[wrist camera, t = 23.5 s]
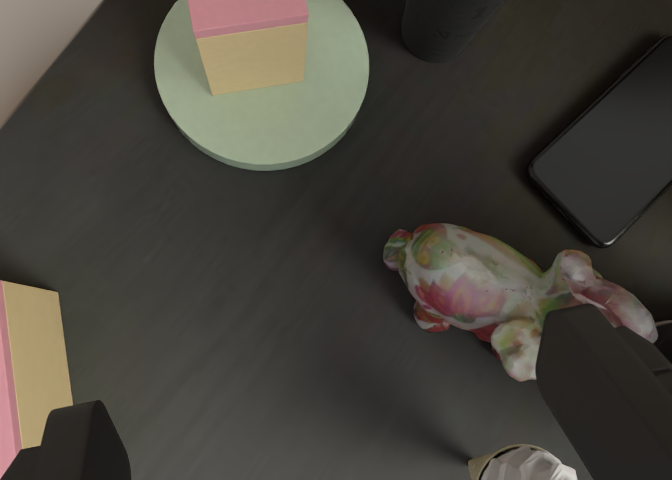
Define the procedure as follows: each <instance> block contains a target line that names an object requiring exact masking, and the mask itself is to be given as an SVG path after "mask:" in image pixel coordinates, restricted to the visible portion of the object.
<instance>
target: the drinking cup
mask: <svg viewBox="0 0 672 480" xmlns="http://www.w3.org/2000/svg"><path fill="white" fill-rule="evenodd" d="M504 1H505V0H406V4H405V9H404V14H403V19H402V24H401V33H402V37H403V40H404V42H405V44H406V46H407V47H408V49H409V50H410V51H411V52H412V53H413V54H414V55H416V56H417V57H419V58H420V59H422V60H425V61H428V62H434V63H440V62H446V61H449V60H451V59H453V58H455V57H456V56H458V55H459V54H460V53H461V52H462V51H463V49H464V48H465V47H466V46H467V45H468V44H469V42H470V41H471V40H472V39H473V38H474V36H475V35H476V34H477V33H478V32H479V31H480V29H481V28H482V27H483V26H484V25H485V24H486V22H487V21H488V20H489V19H490V18H491V16H492V15H493V14H494V13H495V12H496V11H497V9H498V8H499V7H500V6H501V5H502V4H503V2H504Z"/></svg>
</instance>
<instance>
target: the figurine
mask: <svg viewBox="0 0 672 480" xmlns="http://www.w3.org/2000/svg"><path fill="white" fill-rule="evenodd" d="M383 260H384V262H385V264H386V266H387V267H388V268H389V269H390V270H393V271H398V270H399V274H400V275H401V277H402V279H403V281H404V282H405V284H406V286H407V288H408V290H409V291H410V293H411V294H412V296H413V297H414V298H415V299H416V302H415V304H414V318H415V320H416V322H417V324H418V325H419V326H420V327H421V328H422V329H424V330H426V331H428V332H439V331H444V330H447V329H448V328H449V326H450V325H453V326H455V327H458V328H460V329H464V330H467V331H470V332H474V333H475V334H476V335H477V337H478V338H479V339H480V340H483V341H486V342H491V344H492V351H493V353H494V355H495V357H496V358H497V359H498V360H500V361H502V365H503V367H504V369H505V370H506V372H507V373H508V375H509V376H511V377H513V378H514V379H516V380H518V381H520V382H521V381H526V380H530V379H534V380H536V373H535V366H536V360H537V355H538V350H539V345H540V340H541V335H542V330H543V325H544V320H545V316H546V314H547V313H548V312H549V311H551V310H556V309H561V308H566V307H571V306H576V305H581V304H586V303H589V304H592V305H594V306H596V307H597V308H598V309H599V310H600V311H601V313H602V314H603V315H604V316H605V317H606V318H607V320H608V321H609V322H610V323H611V324H612V326H613V327H614V328H615V327H620V326H626V327H628V328H629V329H631V330H632V331H634V332H636V333H637V334H639V335H640V336H642V337H643V338H645V339H647V340H648V341H650V342H651V343H654V342H655V341H656V340H657V337H658V333H657V329H656V326H655V323H654V320H653V317H652V315H651V313H650V312H649V311H648V310H647V309H646V308H645V307H644V306H643V304H642V303H641V302H640V301H639V300H638V299H637V298H636V297H635V296H634V295H633V294H632V293H630V292H629V291H627V290H625V289H624V288H622V287H621V286H619V285H617V284H614V283H612V282H610V281H607V280H605V279H603V278H602V276H601V275H600V274H599V273H598V272H597V271H595V270H594V269H593V268H592V263H591V260H590V258H589V256H588V255H587V254H585V253H583V252H581V251H578V250H572V249H570V250H563V251H562V252H560V253H559V254H558V255H557V256H556V258H555V260H554V263H553V265H552V266H551V267H550V268H549V269H548V270H547V271H546V272H545V273H544V272H543V271H542V270H541V268H540V267H539V266H538V265H537V264H536V263H535V262H534V261H532V260H531V259H529V258H527V257H525V256H523V255H522V254H520V253H519V252H518V251H516V250H515V249H513V248H512V247H510V246H509V245H507V244H505V243H504V242H502V241H500V240H498V239H497V238H494V237H491V236H488V235H485V234H482V233H478V232H474V231H472V230H470V229H468V228H466V227H462V226H457V225H452V224H447V223H429V224H425V225H421V226H419V227H418V228H417V229H416V230H415V231H414V233H409V232H407V231H405V230H402V229H400V230H397V231H396V232H395V233H394V234H392V235H391V237H390V239H389V240H388V242H387V243H386V245H385V246H384V252H383Z"/></svg>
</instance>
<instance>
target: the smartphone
mask: <svg viewBox="0 0 672 480" xmlns="http://www.w3.org/2000/svg"><path fill="white" fill-rule="evenodd" d="M526 174H527V177H528V179H529V180H530V182H531V183H532V184H533V185H534V186H535V187H536V188H537V189H538V190H539V191H540V192H541V193H542V194H543V195H544V196H545V197H546V199H547V200H548V201H549V202H550V203H551V204H552V205H553V206H554V207H555V208H556V209H557V210H558V211H559V212H560V213H561V214H562V215H563V216H564V217H565V218H566V219H567V220H568V221H569V223H570V224H571V225H572V226H573V227H574V228H575V229H576V230H577V231H578V232H579V233H580V234H581V235H582V236H583V237H584V238H585V239H586V240H587V241H588V242H589V243H590V244H591V245H593V246H594V247H597V248H607V247H609V246H611V245H612V244H614V243H615V242H616V241H617V240H618V239H619V238H620V237H621V236H622V235H623V234H624V233H625V232H626V231H627V230H628V229H629V228H630V227H631V226H632V225H633V224H634V223H635V222H636V221H637V220H638V219H639V218H640V217H641V216H642V215H643V214H644V213H645V212H646V211H647V210H648V209H649V207H650V206H651V205H652V204H653V203H654V202H655V201H656V200H657V199H658V198H659V197H660V196H661V195H662V194H663V193H664V192H665V191H666V190H667V189H668V188H669V187H670V186H671V185H672V34H668V35H665V36H663V37H662V38H660V39H659V40H658V41H657V42H656V43H655V44H654V45H652V46H651V47H650V48H649V49H648V50H647V51H646V52H645V53H644V54H643V55H642V56H641V57H639V58H638V59H637V60H636V61H635V62H634V63H633V64H632V65H631V66H630V67H629V68H627V69H626V70H625V71H624V72H623V73H622V74H621V75H620V76H619V77H618V78H617V79H616V80H615V81H614V82H613V83H612V84H611V85H610V86H609V87H608V88H607V89H606V90H605V91H604V92H602V93H601V94H600V95H599V96H598V97H597V98H596V99H595V100H594V101H593V102H592V103H591V104H590V105H589V106H588V107H586V108H585V109H584V110H583V111H582V112H581V113H580V114H579V115H578V116H577V117H576V118H575V119H574V120H573V121H572V122H570V123H569V124H568V125H567V126H566V127H565V128H564V129H563V130H562V131H561V132H560V133H559V134H558V135H557V136H556V137H555V138H553V139H552V140H551V141H550V142H549V143H548V144H547V145H546V146H545V147H544V148H543V149H542V150H541V151H540V152H539V153H537V154H536V155H535V156H534V157H533V158H532V159H531V160H530V162H529V163H528V165H527V168H526Z"/></svg>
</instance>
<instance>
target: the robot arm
mask: <svg viewBox="0 0 672 480" xmlns="http://www.w3.org/2000/svg"><path fill="white" fill-rule="evenodd" d="M654 323H655V326H656V329H657V333H658V337H657V340H656V341H655V342H654V343H651V342H650V341H648V340H647V339H645V338H643V337H642V336H640V335H639V334H637V333H636V332H634V331H632V330H631V329H629V328H628V327H626V326H620V327H615V328H614V327H613V326H612V324H611V323H610V322H609V321H608V320H607V318H606V317H605V316H604V315H603V314H602V313H601V311H600V310H599V309H598V308H597V307H596V306H594V305H592V304H589V303H586V304H581V305H576V306H571V307H566V308H561V309H556V310H551V311H549V312H548V313H547V314H546V316H545V320H544V325H543V330H542V335H541V340H540V345H539V350H538V355H537V360H536V366H535V373H536V380H537V384H538V387H539V390H540V392H541V395H542V397H543V398H544V400H545V402H546V403H547V405H548V407H549V408H550V410H551V412H552V413H553V415H554V416H555V418H556V420H557V421H558V423H559V424H560V426H561V428H562V429H563V431H564V432H565V434H566V436H567V437H568V439H569V441H570V442H571V444H572V445H573V447H574V449H575V450H576V452H577V453H578V455H579V457H580V458H581V460H582V461H583V463H584V465H585V466H586V468H587V470H588V471H589V473H590V474H591V476H592V478H593V479H594V480H672V320H666V321H657V322H654ZM0 480H131V470H130V463H129V459H128V455H127V452H126V450H125V447H124V445H123V443H122V441H121V439H120V437H119V435H118V433H117V431H116V428H115V426H114V424H113V422H112V420H111V418H110V416H109V414H108V412H107V410H106V407H105V406H104V404H103V403H102V402H101V401H100V400H97V401H92V402H87V403H82V404H77V405H72V406H67V407H62V408H57V409H53V410H52V411H51V412H50V413H49V415H48V417H47V420H46V424H45V428H44V432H43V437H42V441H41V445H40V446H35V447H31V448H26V449H21V450H20V451H19V453H18V454H17V456H16V457H15V459H14V460H13V461H12V463H11V464H10V466H9V467H8V469H7V470H6V472H5V473H4V475H3V476H2V477H1V479H0Z"/></svg>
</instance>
